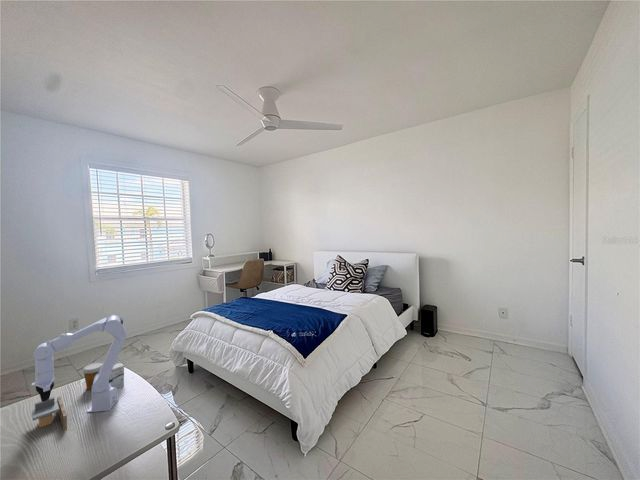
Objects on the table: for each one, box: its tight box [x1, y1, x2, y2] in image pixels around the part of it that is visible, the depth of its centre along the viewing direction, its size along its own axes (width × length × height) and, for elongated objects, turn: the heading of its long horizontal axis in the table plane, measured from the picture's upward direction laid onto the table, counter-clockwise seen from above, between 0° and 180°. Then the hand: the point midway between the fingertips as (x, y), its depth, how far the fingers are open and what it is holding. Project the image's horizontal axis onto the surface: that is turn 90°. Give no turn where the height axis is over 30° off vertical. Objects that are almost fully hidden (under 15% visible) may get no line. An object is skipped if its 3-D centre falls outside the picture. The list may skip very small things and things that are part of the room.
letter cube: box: [38, 413, 54, 428], centre depth 116 cm, size 4×4×4 cm
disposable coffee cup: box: [82, 361, 104, 391], centre depth 143 cm, size 10×10×12 cm
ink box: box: [109, 362, 125, 389], centre depth 143 cm, size 9×5×12 cm, turn 143°
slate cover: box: [31, 396, 59, 421], centre depth 116 cm, size 8×8×4 cm
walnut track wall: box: [56, 395, 68, 431], centre depth 119 cm, size 20×1×6 cm, turn 51°
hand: (45, 400), depth 116 cm, fingers closed
